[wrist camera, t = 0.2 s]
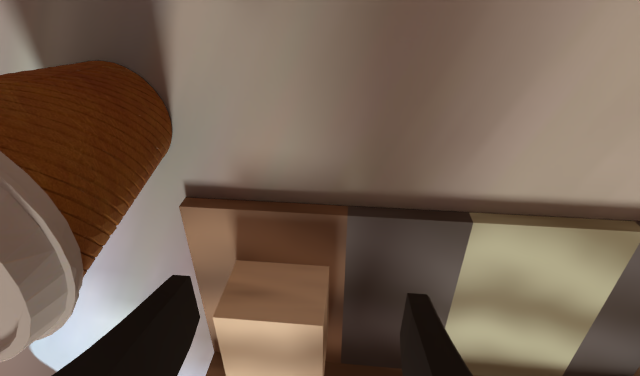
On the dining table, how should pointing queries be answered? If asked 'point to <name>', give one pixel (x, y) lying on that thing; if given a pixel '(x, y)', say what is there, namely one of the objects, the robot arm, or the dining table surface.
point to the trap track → (441, 282)
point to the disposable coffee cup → (67, 183)
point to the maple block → (274, 319)
